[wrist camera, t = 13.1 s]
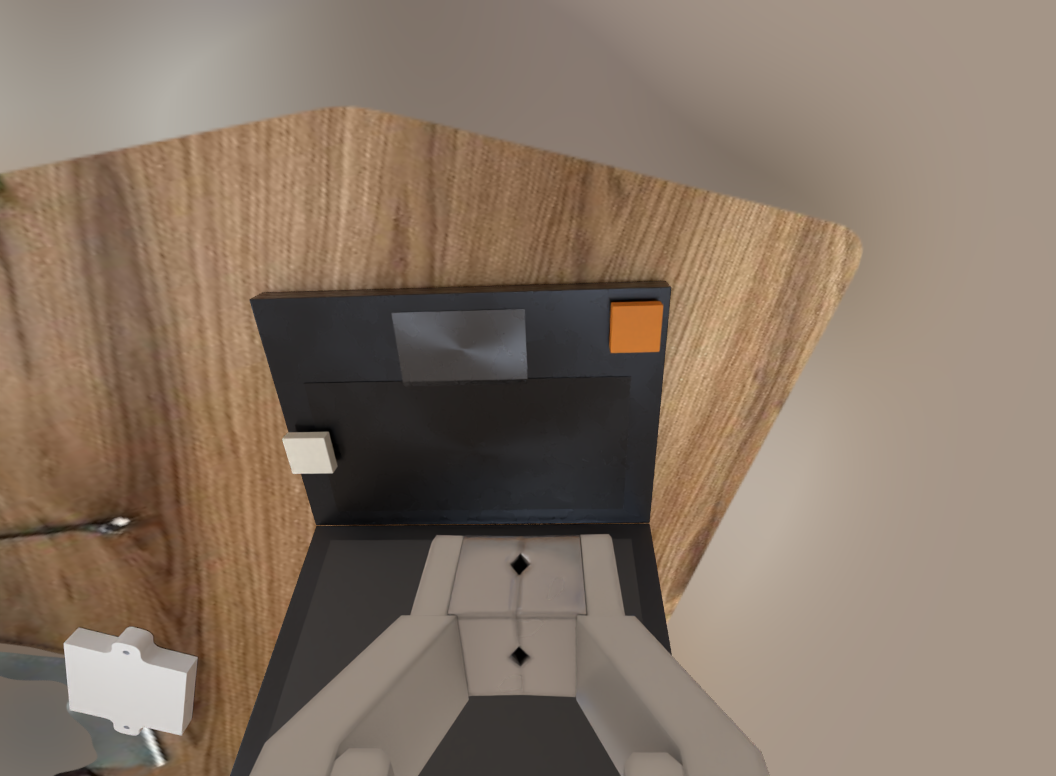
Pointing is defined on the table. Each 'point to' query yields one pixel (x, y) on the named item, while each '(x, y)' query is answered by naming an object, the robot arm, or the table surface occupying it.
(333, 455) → the off-white flat block
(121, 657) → the mounting plate
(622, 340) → the key amber
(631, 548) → the laptop screen
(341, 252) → the table surface
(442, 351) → the laptop
